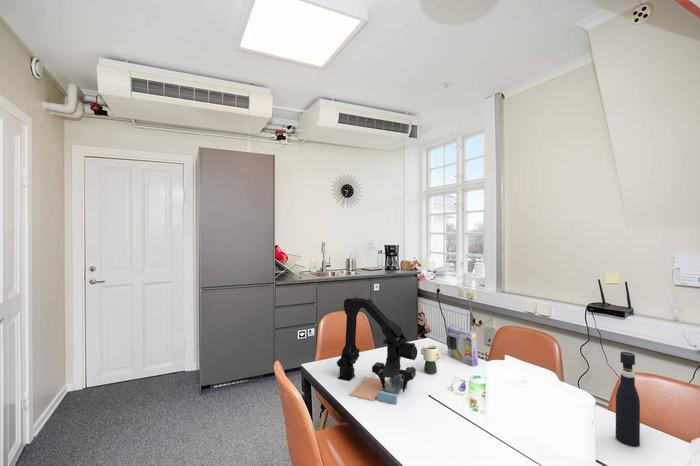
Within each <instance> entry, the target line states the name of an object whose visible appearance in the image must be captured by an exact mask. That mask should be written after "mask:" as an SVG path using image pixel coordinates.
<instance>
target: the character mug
mask: <svg viewBox="0 0 700 466" xmlns="http://www.w3.org/2000/svg"><path fill="white" fill-rule="evenodd" d="M420 355H422V356H423V360H424V361H425V362H424V367H423V371H424V373H426V374H436V373H437V372H438V370H437V363H436V361H437V360H441V352H439V349H438V346H436V345H434V344H426V345H423V346H422V348H420Z"/></svg>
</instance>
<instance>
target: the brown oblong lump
mask: <svg viewBox="0 0 700 466" xmlns="http://www.w3.org/2000/svg"><path fill="white" fill-rule="evenodd" d="M406 368H412V369H415V371H416V372H417V369H416V368H415V367H414V366H411V367H410V366H407V367H406ZM403 378H404V375H403V374H401V379H403Z"/></svg>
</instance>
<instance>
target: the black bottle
mask: <svg viewBox="0 0 700 466" xmlns="http://www.w3.org/2000/svg"><path fill="white" fill-rule="evenodd" d="M620 363H622V369H621V374H620V382H619V385H618V387H617V390H616V393H615V440H616V441H618V442H619V443H621V444H623V445H625V446H629V447H633V448H638V447H640V445H641V444H640V441H641V435H640V433H641V415H640V414H641V400H640V396H639V392H638V390H637V387H636V385H635V383H636V382H635V381H636V379H635V375H634V374H635V372H634V371H633V366H635V365H636V354H634V353H632V352H629V351H628V352H627V351H621V352H620Z"/></svg>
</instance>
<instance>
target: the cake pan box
mask: <svg viewBox="0 0 700 466" xmlns="http://www.w3.org/2000/svg"><path fill="white" fill-rule="evenodd" d="M477 334H478V333H477V332H475V331H472V330H469V329H466V328H464V327H463V328H462V327H458V326H456V325H453V324H452V325H449V326H446V339H445V340H446V346H447V357H449V358H452V359H454V360H456V361H459V362H462V363H464V364H466V365H469V366H471V367H475V366H478V365H479V359H478V358H479V357H478V335H477Z"/></svg>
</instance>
